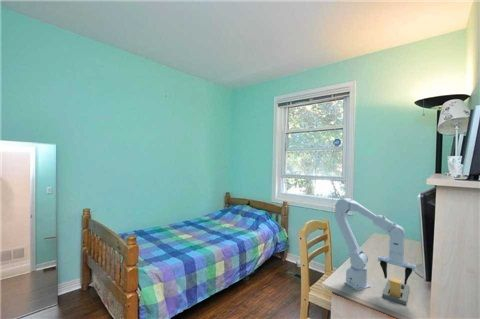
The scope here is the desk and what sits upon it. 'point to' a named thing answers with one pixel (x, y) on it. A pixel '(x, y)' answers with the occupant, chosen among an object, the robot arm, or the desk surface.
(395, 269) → the desk surface
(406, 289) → the power strip
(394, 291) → the plug
